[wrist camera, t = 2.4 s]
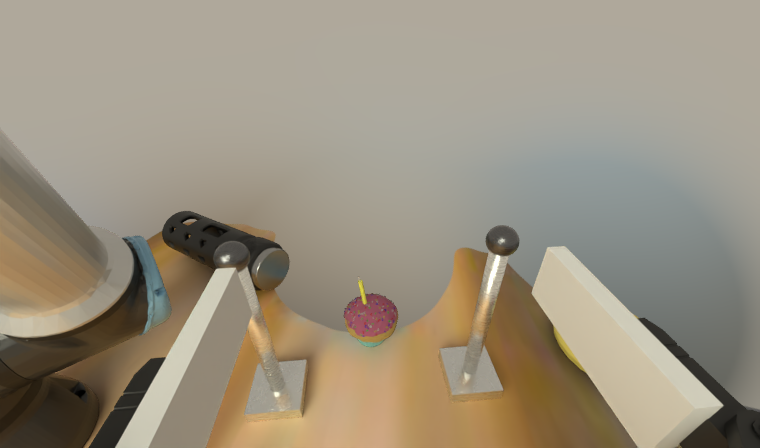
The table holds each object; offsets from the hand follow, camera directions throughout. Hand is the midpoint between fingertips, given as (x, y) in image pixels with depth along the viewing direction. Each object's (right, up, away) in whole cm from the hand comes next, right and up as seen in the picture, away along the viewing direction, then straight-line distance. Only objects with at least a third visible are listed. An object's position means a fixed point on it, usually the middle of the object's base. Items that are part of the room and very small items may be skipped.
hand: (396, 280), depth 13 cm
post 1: (-15, -21, +30) cm, 39 cm away
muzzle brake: (-33, -7, +52) cm, 62 cm away
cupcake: (-2, -16, +38) cm, 41 cm away
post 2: (+12, -20, +31) cm, 39 cm away
